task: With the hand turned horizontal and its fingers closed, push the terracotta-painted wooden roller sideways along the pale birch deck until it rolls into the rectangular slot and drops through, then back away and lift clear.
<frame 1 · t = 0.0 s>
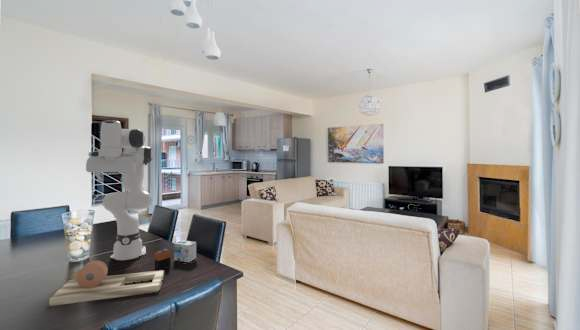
hand: (111, 181, 131), 48 cm above the table, tool pointing down, fingers open, 8 cm apart
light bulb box: (185, 261, 156), on the table
battery: (162, 268, 145), on the table
deck: (113, 289, 122), on the table
roller: (92, 273, 119), point 8 cm above the table, touching deck
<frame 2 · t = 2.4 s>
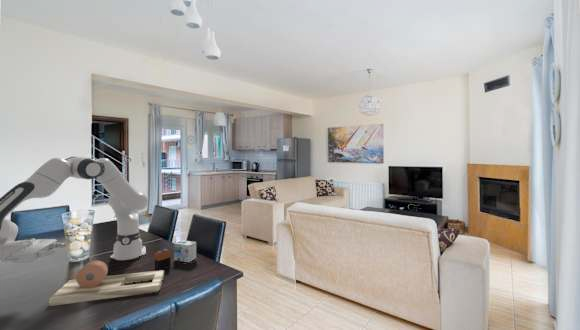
hand: (59, 248, 115), 20 cm above the table, tool horizontal, fingers open, 8 cm apart
nothing on the table moved.
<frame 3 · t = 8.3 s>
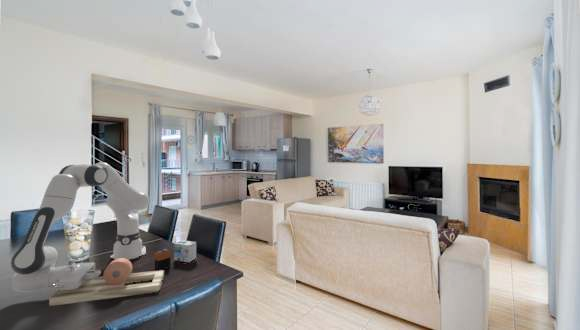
hand: (99, 273, 120), 8 cm above the table, tool horizontal, fingers closed
roller: (118, 271, 122), point 8 cm above the table, tilted 114°, touching deck
everything else where it was.
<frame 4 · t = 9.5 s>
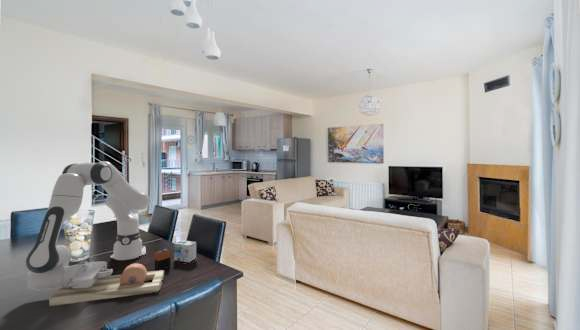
hand: (111, 271, 122), 8 cm above the table, tool horizontal, fingers closed
roller: (133, 276, 124), point 5 cm above the table, tilted 152°
everything else where it was.
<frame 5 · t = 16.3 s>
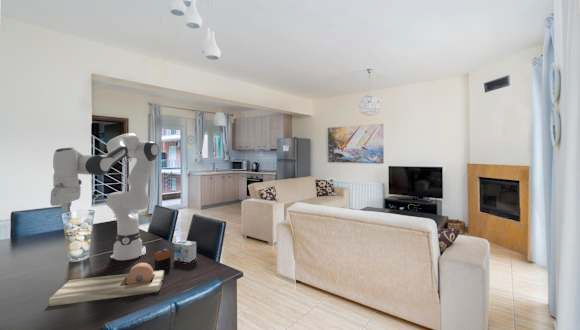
hand: (66, 212, 125), 34 cm above the table, tool pointing down, fingers closed
roller: (140, 275, 125), point 5 cm above the table, tilted 120°
everything else where it was.
at the end: roller 1.0 cm from the target spot, point 5.0 cm above the table; roller moved 19.2 cm from its start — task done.
